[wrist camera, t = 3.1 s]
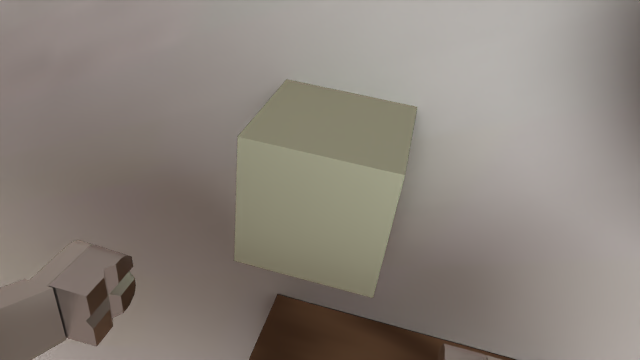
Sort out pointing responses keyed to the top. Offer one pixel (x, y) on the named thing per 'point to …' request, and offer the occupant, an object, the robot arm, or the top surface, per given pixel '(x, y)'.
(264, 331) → the walnut base
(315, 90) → the sage block
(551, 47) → the top surface
